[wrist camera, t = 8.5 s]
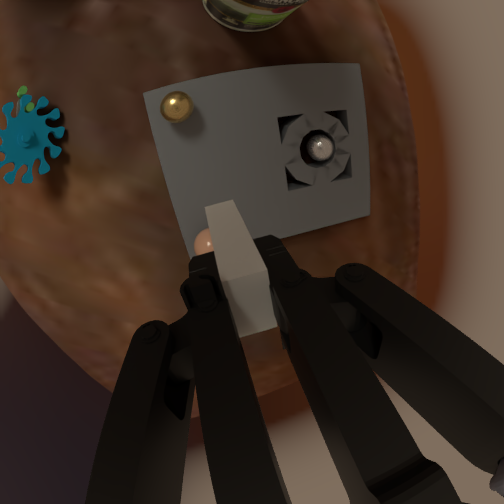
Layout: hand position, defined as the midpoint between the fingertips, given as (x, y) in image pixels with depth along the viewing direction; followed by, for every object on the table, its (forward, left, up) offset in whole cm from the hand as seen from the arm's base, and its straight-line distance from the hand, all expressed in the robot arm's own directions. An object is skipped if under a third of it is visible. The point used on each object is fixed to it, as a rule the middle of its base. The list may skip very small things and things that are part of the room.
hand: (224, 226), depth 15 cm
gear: (-11, -18, -18) cm, 28 cm away
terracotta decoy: (+8, -1, -13) cm, 15 cm away
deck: (0, +7, -18) cm, 19 cm away
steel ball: (+1, +13, -16) cm, 21 cm away
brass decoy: (-7, -1, -14) cm, 15 cm away
